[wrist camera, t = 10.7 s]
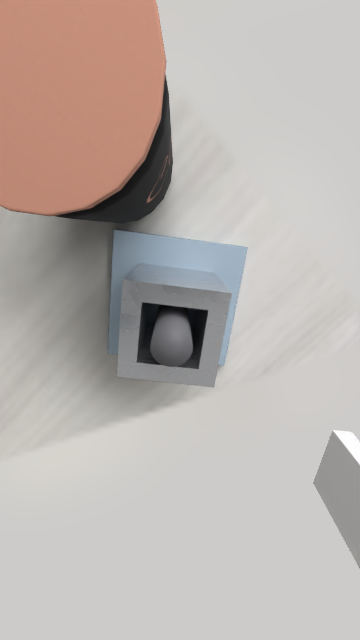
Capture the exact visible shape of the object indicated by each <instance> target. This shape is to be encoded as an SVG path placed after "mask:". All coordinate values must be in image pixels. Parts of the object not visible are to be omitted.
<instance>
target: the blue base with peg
mask: <svg viewBox="0 0 360 640" xmlns="http://www.w3.org/2000/svg"><path fill="white" fill-rule="evenodd" d="M247 248H248V247H243V246H235V245H228V244H220V243H213V242H205V241H198V240H190V239H183V238H175V237H168V236H160V235H152V234H145V233H137V232H130V231H122V230H114V236H113V257H112V277H111V297H110V318H109V338H108V353H112V354H118V347H119V331H120V315H121V299H122V283H123V279H124V278H125V277H126V276H127V275H128V274H129V273H130V272H131V271H132V270H133V269H134V268H135V267H137V266H138V265H139V264H140V263H145V264H153V265H160V266H168V267H176V268H184V269H192V270H200V271H207V272H214V273H215V274H216V275H217V276H218V277H219V278H220V280H221V281H222V282H223V283H224V284H225V286H226V287H227V288H228V289H229V290H230V291H231V293H232V296H231V301H230V306H229V311H228V316H227V322H226V327H225V332H224V337H223V343H222V348H221V353H220V358H219V363H218V365H221V366H224V363H225V358H226V353H227V348H228V343H229V338H230V333H231V328H232V323H233V318H234V313H235V308H236V303H237V298H238V293H239V288H240V283H241V278H242V273H243V268H244V263H245V258H246V253H247ZM194 311H195V308H187V307H178V306H170V305H162V304H153V303H151V304H150V314H149V322H154V323H155V326H154V330H153V335H152V339H151V344H150V351H151V354H152V356H153V358H154V359H155V360H156V361H157V362H158V363H160V364H162V365H164V366H168V367H175V366H179V365H182V364H183V363H185V362H186V361H187V360H188V359H189V358H190V356H191V354H192V351H193V344H192V336H191V329H190V327H192V324H193V318H194Z"/></svg>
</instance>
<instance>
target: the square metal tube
mask: <svg viewBox="0 0 360 640" xmlns="http://www.w3.org/2000/svg"><path fill="white" fill-rule="evenodd" d="M231 296H232V293H231V291H230V290H229V289H228V288H227V287H226V286H225V284H224V283H223V282H222V281H221V280H220V278H219V277H218V276H217V275H216V274H215V273H214V272H207V271H200V270H192V269H184V268H176V267H168V266H160V265H153V264H145V263H140V264H139V265H138V266H137V267H135V268H134V269H133V270H132V271H131V272H130V273H129V274H128V275H127V276H126V277H125V278H124V279H123V283H122V299H121V315H120V331H119V347H118V363H117V377H121V378H131V379H140V380H150V381H159V382H168V383H178V384H187V385H197V386H206V387H214V384H215V379H216V374H217V369H218V363H219V358H220V353H221V348H222V343H223V337H224V332H225V327H226V322H227V316H228V311H229V306H230V301H231ZM151 303H153V304H162V305H170V306H178V307H187V308H195V311H194V318H193V324H192V327H190V329H191V336H192V344H193V351H192V354H191V356H190V358H189V359H188V360H187V361H186V362H185V363H183V364H182V365H179V366H175V367H168V366H164V365H162V364H160V363H158V362H157V361H156V360H155V359H154V358H153V356H152V354H151V351H150V344H151V339H152V335H153V330H154V326H155V323H154V322H149V314H150V304H151Z"/></svg>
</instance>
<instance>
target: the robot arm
mask: <svg viewBox="0 0 360 640" xmlns="http://www.w3.org/2000/svg"><path fill="white" fill-rule="evenodd" d="M313 483H314V485H315V487H316V489H317V490H318V492H319V494H320V496H321V498H322V499H323V501H324V503H325V505H326V507H327V509H328V511H329V513H330V515H331V516H332V518H333V520H334V522H335V523H336V525H337V527H338V529H339V531H340V533H341V535H342V537H343V538H344V540H345V542H346V544H347V546H348V548H349V549H350V551H351V553H352V555H353V557H354V559H355V560H356V562H357V564H358V566H359V568H360V441H359V440H358V439H357V438H356V437H355V436H354V435H353V433H352V432H347V431H337V430H333V431H332V433H331V436H330V439H329V442H328V445H327V447H326V450H325V452H324V455H323V458H322V461H321V463H320V466H319V469H318V471H317V474H316V477H315V479H314V482H313Z"/></svg>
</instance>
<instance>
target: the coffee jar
mask: <svg viewBox="0 0 360 640" xmlns="http://www.w3.org/2000/svg"><path fill="white" fill-rule="evenodd" d="M165 70H166V57H165V51H164V44H163V38H162V32H161V26H160V20H159V13H158V7H157V3H156V1H155V0H0V206H2V207H4V208H6V209H8V210H10V211H16V212H23V213H31V214H38V215H45V216H57V217H64V218H71V219H81V220H92V221H103V222H114V223H126V222H131V221H136V220H139V219H141V218H142V217H144V216H146V215H147V214H149V213H151V212H152V211H153V210H154V209H155V208H156V207H157V205H158V204H159V203H160V202H161V201H162V200H163V198H164V196H165V194H166V191H167V189H168V187H169V184H170V182H171V174H172V165H173V158H172V141H171V125H170V108H169V93H168V87H167V81H166V75H165Z"/></svg>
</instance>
